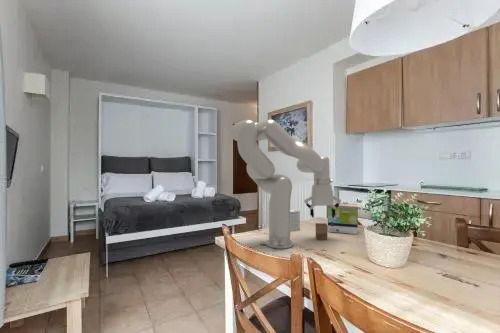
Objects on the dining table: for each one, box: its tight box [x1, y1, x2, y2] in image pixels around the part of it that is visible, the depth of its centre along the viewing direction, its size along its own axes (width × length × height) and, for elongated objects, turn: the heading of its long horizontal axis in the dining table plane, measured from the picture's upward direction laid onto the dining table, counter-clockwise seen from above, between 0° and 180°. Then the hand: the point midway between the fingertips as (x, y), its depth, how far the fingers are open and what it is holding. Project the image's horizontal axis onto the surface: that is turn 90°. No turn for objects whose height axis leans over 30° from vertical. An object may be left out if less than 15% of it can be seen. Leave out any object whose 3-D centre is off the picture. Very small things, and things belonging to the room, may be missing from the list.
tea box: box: [327, 202, 359, 235], centre depth 142 cm, size 15×10×15 cm
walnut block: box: [315, 222, 328, 241], centre depth 128 cm, size 5×5×7 cm
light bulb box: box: [290, 207, 301, 232], centre depth 148 cm, size 11×7×11 cm, turn 25°
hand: (322, 217), depth 128 cm, fingers open, 9 cm apart
